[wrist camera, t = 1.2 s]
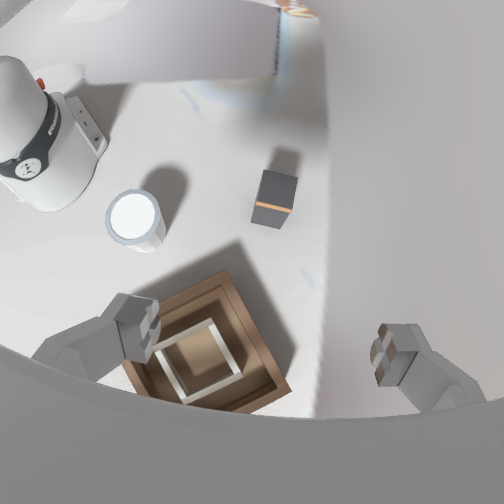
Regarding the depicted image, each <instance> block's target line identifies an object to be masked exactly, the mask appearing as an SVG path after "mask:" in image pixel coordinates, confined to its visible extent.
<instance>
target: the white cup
mask: <svg viewBox="0 0 504 504" xmlns="http://www.w3.org/2000/svg"><path fill="white" fill-rule="evenodd" d="M105 224H106V228H107V232H108V234H109V235H110V236H111V237H112V239H113V240H114V241H116V242H118V243H120V244H122V245H124V246H127V247H129V248H132V249H134V250H136V251H139V252H151V251H154V250H156V249H157V248H158V247H159V246H160V245H161V244H162V243H163V241H164V239H165V237H166V226H165V223H164V220H163V217H162V214H161V211H160V208H159V205H158V202H157V200H156V199H155V198H154V197H153V196H152V194H151V193H149V192H147V191H144V190H141V189H130V190H128V191H125V192H123V193H121V194H119V195H118V196H117V197H116V198H115V199H114V200H113V201H112V202H111V204H110V206H109V208H108V210H107V212H106V219H105Z"/></svg>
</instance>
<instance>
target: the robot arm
mask: <svg viewBox="0 0 504 504" xmlns="http://www.w3.org/2000/svg"><path fill="white" fill-rule="evenodd" d="M31 1H32V0H0V28H1V27H2V26H3V25H5V24H6V23H7V22H8V21H9V20H10V19H11V18H13V17H14V16H15V15H16V14H17V13H18V12H19V11H21V10H22V9H23V8H24V7H25V6H26V5H27V4H28V3H30V2H31ZM44 89H45V85H44V82H43V80H42V79H41V78H39V79H38V80H36V81H35V79H34V78H33V76H32V75H31V73H30V72H29V70H28V68H27V67H26V65H25V64H24V63H23V62H22V61H21V60H19V59H17V58H14V57H11V56H0V180H1V181H2V182H3V183H4V184H5V185H6V186H8V187H9V188H10V189H11V190H12V191H13V192H14V199H15V200H16V201H17V202H19V203H28V204H30V205H31V206H32V207H34V208H35V209H36V210H39V211H42V212H53V211H57V210H60V209H62V208H64V207H66V206H67V205H69V204H70V203H72V202H73V201H74V200H75V199H76V198H77V197H78V196H79V195H80V194H81V193H82V192H83V190H84V189H85V188H86V186H87V185H88V183H89V181H90V179H91V177H92V175H93V172H94V169H95V166H96V163H97V161H98V159H99V157H100V156H101V155H102V153H103V152H104V151H105V149H106V147H107V145H108V142H107V140H106V138H105V137H104V135H103V134H102V132H101V131H100V129H99V128H98V126H97V125H96V123H95V122H94V120H93V119H92V117H91V116H90V114H89V112H88V111H87V109H86V108H85V106H84V105H83V103H82V101H81V100H80V99H79V98H78V97H77V96H75V97H69V98H66V99H65V98H64V96H63V95H62V93H60V92H54V93H50V94H48V93H46V92H45V91H42V90H44ZM97 139H98V140H97ZM96 140H97V141H96ZM158 311H159V303H158V301H157V299H152V298H147V297H142V296H137V295H131V294H126V293H118V294H117V295H116V296H115V297H114V299H113V300H112V301H111V303H110V304H109V305H108V307H107V308H106V309H105V311H104V312H103V313H102V315H101V316H100V317H94V318H92V319H90V320H87V321H85V322H83V323H80V324H78V325H76V326H74V327H71V328H69V329H67V330H65V331H62V332H60V333H58V334H56V335H53V336H51V337H49V338H47V339H45V341H44V342H43V343H42V345H41V346H40V347H39V348H38V350H37V351H36V352H35V353H34V355H33V356H32V357H31V358H29V357H27V356H24V355H22V354H20V353H18V352H15V351H13V350H11V349H9V348H7V347H5V346H3V345H1V344H0V504H504V398H499V399H495V400H492V401H486V398H485V397H484V394H483V392H482V390H481V388H480V386H479V384H478V383H477V381H476V380H474V379H473V378H472V377H470V376H469V375H468V374H466V373H465V372H464V371H462V370H461V369H460V368H458V367H457V366H455V365H454V364H453V363H451V362H450V361H449V360H447V359H446V358H444V357H443V356H442V355H440V354H439V353H438V352H436V351H432V349H431V347H430V345H429V343H428V341H427V339H426V338H425V336H424V334H423V332H422V331H421V328H420V326H419V325H417V324H382V325H381V326H380V328H379V330H378V334H379V337H378V338H377V339H376V340H374V342H373V344H372V347H371V352H370V358H371V363H372V365H373V366H374V367H375V368H376V371H375V376H376V380H377V384H378V386H380V387H382V386H384V387H385V386H398V388H399V389H400V390H401V391H402V392H403V394H404V395H405V396H406V397H407V398H408V399H409V400H410V401H411V402H412V403H413V404H414V406H415V407H416V408H417V409H418V410H419V411H420V412H421V413H418V414H409V415H399V416H389V417H388V416H387V417H372V418H342V419H340V418H339V419H338V418H337V419H336V418H335V419H330V418H329V419H328V418H323V419H322V418H293V417H276V416H264V415H253V414H244V413H235V412H227V411H220V410H213V409H207V408H201V407H195V406H189V405H184V404H179V403H174V402H169V401H164V400H160V399H155V398H151V397H147V396H143V395H139V394H135V393H131V392H127V391H123V390H120V389H116V388H113V387H109V386H106V385H103V384H99V383H96V381H98V380H99V379H101V378H102V377H103V376H105V375H106V374H108V373H109V372H111V371H112V370H113V369H115V368H116V367H118V366H119V365H120V364H122V363H123V362H125V360H130V361H135V362H140V363H145V364H147V363H148V361H149V359H150V356H151V354H152V352H153V349H152V345H154V344H156V343H157V341H158V339H159V335H160V331H161V321H160V318H159V317H158V315H157V312H158Z"/></svg>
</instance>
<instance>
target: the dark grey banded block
mask: <svg viewBox="0 0 504 504" xmlns="http://www.w3.org/2000/svg"><path fill="white" fill-rule="evenodd" d="M297 179H298V178H297V177H293V176H289V175H285V174H281V173H277V172H273V171H268V170H263V174H262V178H261V181H260V185H259V189H258V193H257V197H256V201H255V206H254V210H253V214H252V219H251V223H255V224H260V225H264V226H268V227H273V228H277V229H280V228H281V226H282V225H283V223H284V222H285V220H286V218H287V217H288V215H289V214H290V212H291V211H292V208H293V202H294V196H295V191H296V185H297Z"/></svg>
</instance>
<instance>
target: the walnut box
mask: <svg viewBox="0 0 504 504" xmlns="http://www.w3.org/2000/svg"><path fill="white" fill-rule="evenodd" d="M157 315H158V317H159V318H160V321H161V331H160V335H159V339H158V341H157V343H156V344H154V345H152V349H153V352H152V354H151V356H150V359H149V361H148V363H147V364H145V363H140V362H135V361H130V360H125V362H123V363H122V366H123V368H124V370H125V372H126V374H127V376H128V377H129V379H130V381H131V383H132V385H133V387H134V388H135V390H136V392H137V394H139V395H143V396H147V397H151V398H155V399H160V400H164V401H169V402H174V403H179V404H184V405H189V406H195V407H201V408H207V409H213V410H220V411H227V412H235V413H244V414H250V413H252V412H254V411H256V410H258V409H260V408H262V407H264V406H266V405H268V404H270V403H272V402H274V401H275V400H277V399H279V398H281V397H283V396H285V395H286V394H288V393H290V392H292V390H291V389H290V387H289V385H288V383H287V382H286V380H285V378H284V376H283V374H282V373H281V371H280V369H279V367H278V366H277V364H276V362H275V360H274V358H273V357H272V355H271V353H270V351H269V349H268V347H267V346H266V344H265V342H264V340H263V338H262V337H261V335H260V333H259V331H258V329H257V327H256V325H255V324H254V322H253V320H252V318H251V316H250V314H249V312H248V311H247V309H246V307H245V305H244V303H243V301H242V299H241V298H240V296H239V294H238V292H237V290H236V288H235V286H234V284H233V282H232V280H231V279H230V277H229V275H228V273H227V271H226V269H225V270H223V271H221V272H219V273H217V274H215V275H213V276H212V277H210V278H208V279H206V280H204V281H202V282H200V283H198V284H196V285H194V286H192V287H190V288H188V289H186V290H184V291H182V292H180V293H178V294H176V295H174V296H172V297H170V298H168V299H166V300H164V301H162V302H160V303H159V311H158V312H157Z"/></svg>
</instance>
